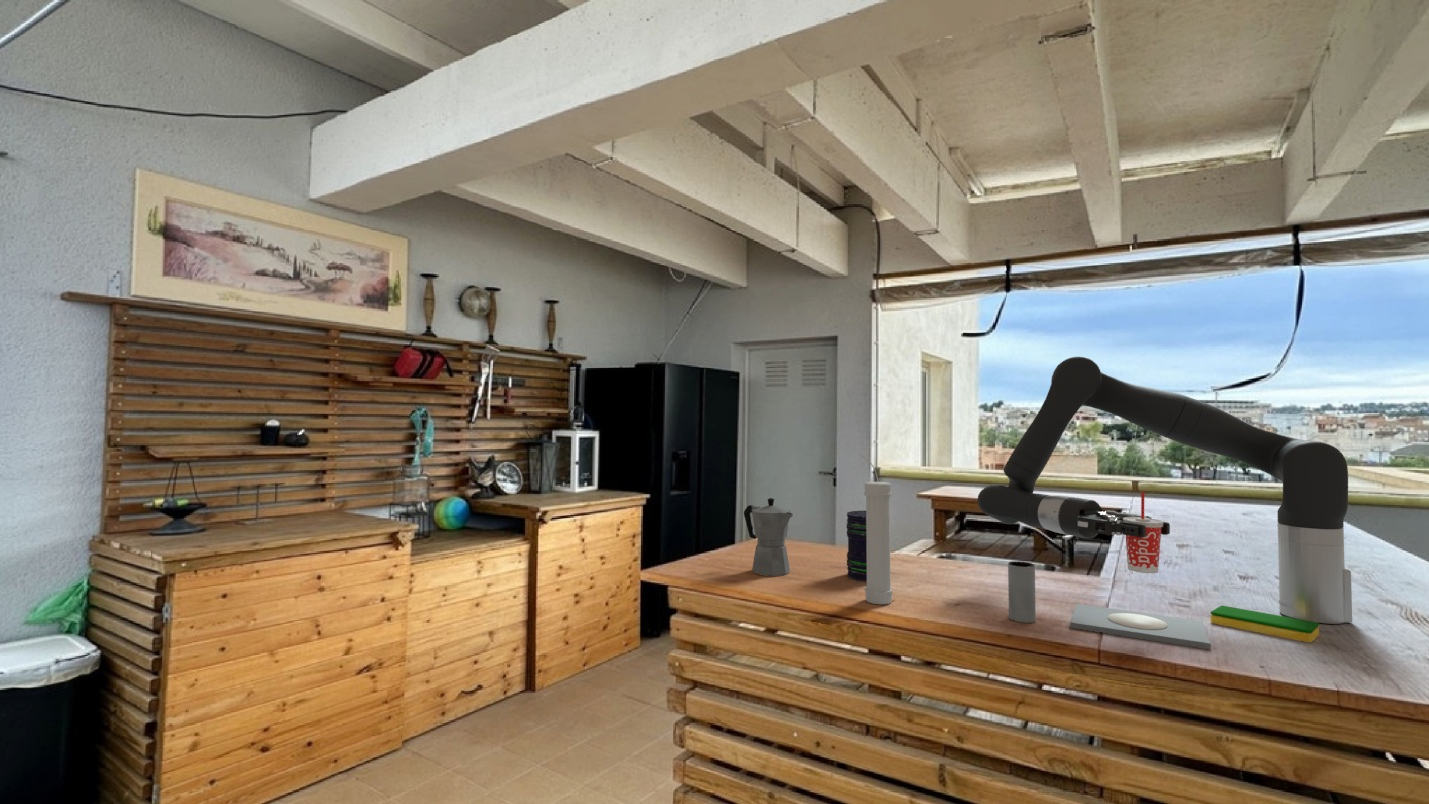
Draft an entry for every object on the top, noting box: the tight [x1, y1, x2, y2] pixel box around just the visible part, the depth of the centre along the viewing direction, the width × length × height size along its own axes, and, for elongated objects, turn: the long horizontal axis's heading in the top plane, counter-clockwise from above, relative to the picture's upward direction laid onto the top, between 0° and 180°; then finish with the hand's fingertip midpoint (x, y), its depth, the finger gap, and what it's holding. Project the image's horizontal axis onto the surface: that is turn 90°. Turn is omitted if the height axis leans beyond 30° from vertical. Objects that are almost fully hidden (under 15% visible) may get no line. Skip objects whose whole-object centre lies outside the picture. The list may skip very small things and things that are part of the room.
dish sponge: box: [1210, 605, 1320, 643], centre depth 116 cm, size 7×14×2 cm, turn 39°
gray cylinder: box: [1007, 560, 1037, 624], centre depth 121 cm, size 4×4×10 cm
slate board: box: [1069, 603, 1212, 651], centre depth 117 cm, size 20×14×1 cm
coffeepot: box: [743, 497, 794, 577], centre depth 160 cm, size 15×9×18 cm, turn 44°
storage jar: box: [846, 510, 867, 583], centre depth 154 cm, size 10×10×15 cm
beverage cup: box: [1123, 491, 1164, 574], centre depth 116 cm, size 6×6×14 cm
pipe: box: [860, 454, 893, 606], centre depth 133 cm, size 6×6×30 cm
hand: (1156, 530), depth 114 cm, fingers closed on beverage cup, 6 cm apart
